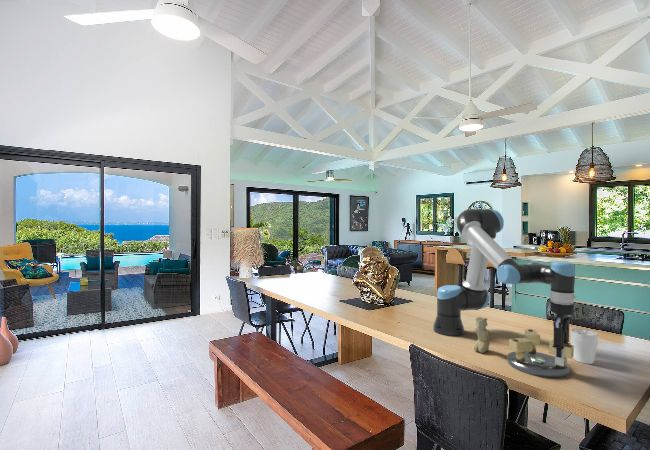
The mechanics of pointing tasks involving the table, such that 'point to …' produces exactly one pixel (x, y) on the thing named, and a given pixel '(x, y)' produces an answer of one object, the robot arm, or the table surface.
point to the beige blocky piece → (532, 339)
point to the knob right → (567, 352)
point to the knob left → (520, 348)
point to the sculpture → (482, 335)
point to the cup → (584, 345)
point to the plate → (538, 365)
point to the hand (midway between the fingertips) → (561, 363)
